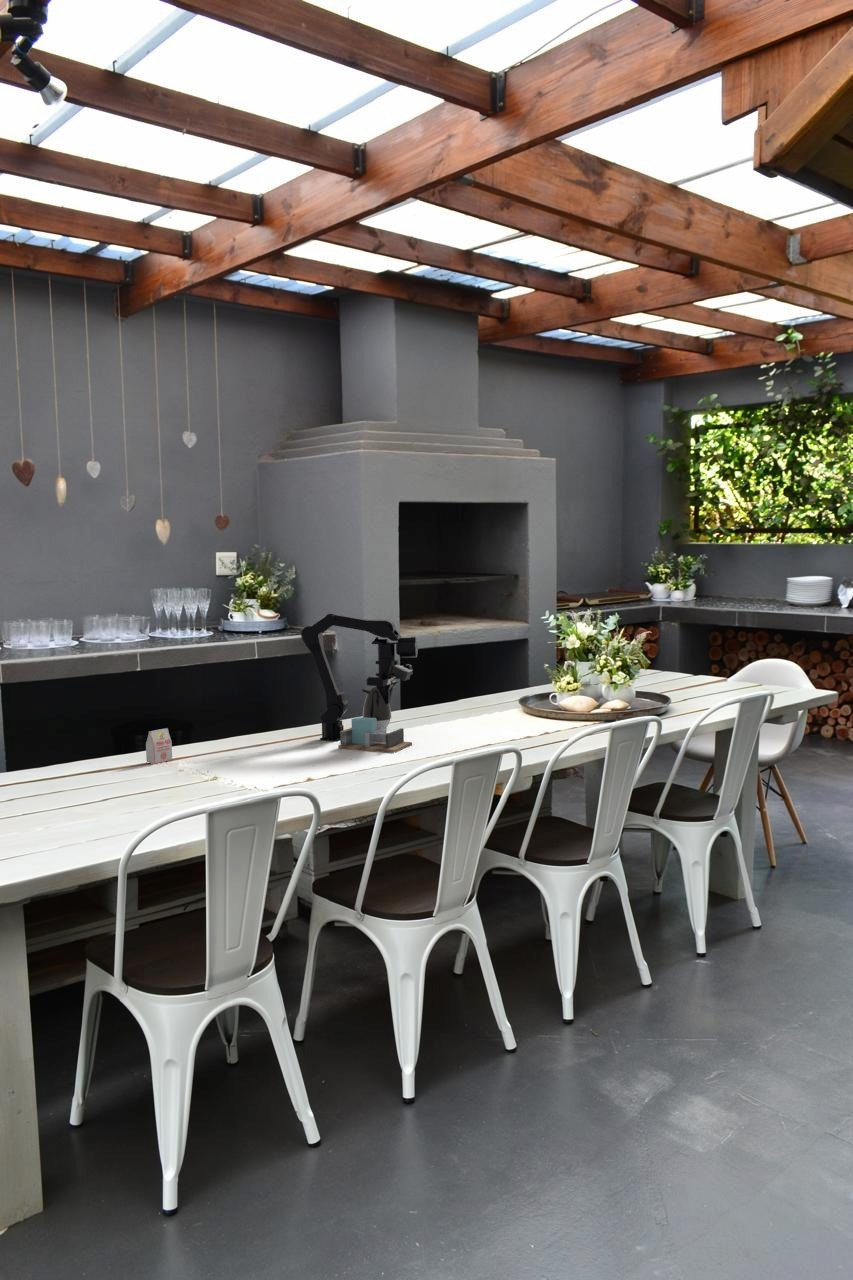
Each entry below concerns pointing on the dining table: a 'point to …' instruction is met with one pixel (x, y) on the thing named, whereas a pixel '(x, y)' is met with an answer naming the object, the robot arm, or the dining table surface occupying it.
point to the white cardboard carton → (158, 746)
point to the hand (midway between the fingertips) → (387, 703)
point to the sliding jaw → (384, 737)
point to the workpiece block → (362, 728)
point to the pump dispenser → (376, 707)
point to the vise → (347, 744)
